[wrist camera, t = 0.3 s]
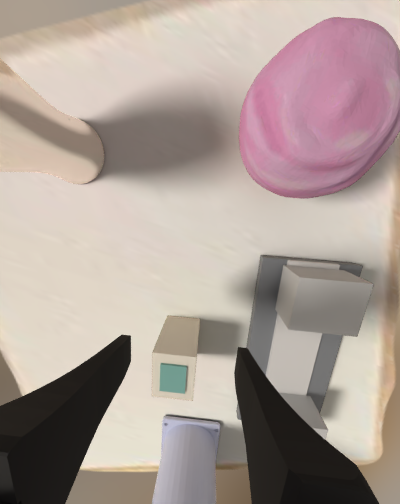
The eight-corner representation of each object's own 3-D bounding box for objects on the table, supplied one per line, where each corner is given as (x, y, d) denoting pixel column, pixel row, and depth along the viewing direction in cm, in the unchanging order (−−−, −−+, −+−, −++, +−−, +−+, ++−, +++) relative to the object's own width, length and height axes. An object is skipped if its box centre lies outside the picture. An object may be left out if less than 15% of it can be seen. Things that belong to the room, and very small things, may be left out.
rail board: (311, 419, 25) (335, 470, 20) (236, 411, 25) (242, 458, 20) (355, 263, 20) (401, 280, 15) (260, 255, 20) (276, 269, 15)
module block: (197, 353, 24) (192, 403, 18) (166, 350, 24) (151, 398, 18) (200, 318, 22) (196, 359, 16) (167, 315, 23) (151, 354, 17)
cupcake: (224, 196, 19) (238, 184, 9) (236, 98, 17) (271, -49, 7) (311, 205, 19) (421, 203, 9) (335, 107, 17) (508, -35, 7)
